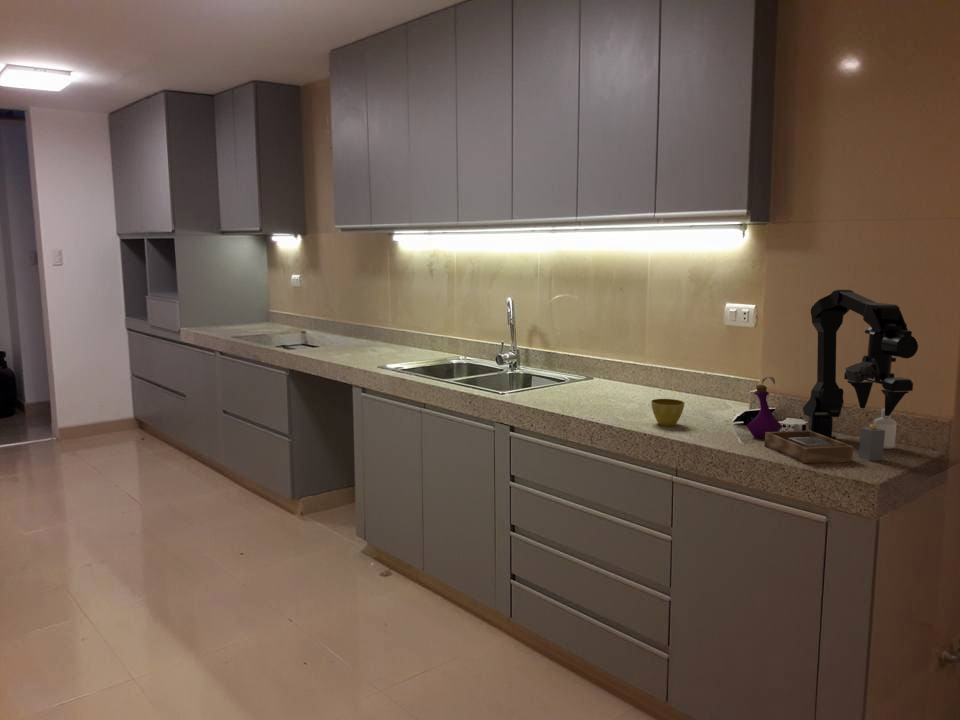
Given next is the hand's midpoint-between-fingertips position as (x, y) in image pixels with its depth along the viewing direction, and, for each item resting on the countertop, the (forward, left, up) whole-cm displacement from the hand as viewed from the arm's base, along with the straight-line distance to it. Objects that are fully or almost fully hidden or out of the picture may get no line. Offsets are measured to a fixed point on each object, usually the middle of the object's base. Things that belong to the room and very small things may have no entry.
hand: (874, 412), depth 202 cm
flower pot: (-46, -36, -13) cm, 60 cm away
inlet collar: (-6, -14, -13) cm, 20 cm away
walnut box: (-7, -14, -13) cm, 20 cm away
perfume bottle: (-26, -15, -13) cm, 33 cm away
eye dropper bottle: (-10, +12, -13) cm, 20 cm away
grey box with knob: (0, 0, -13) cm, 13 cm away
